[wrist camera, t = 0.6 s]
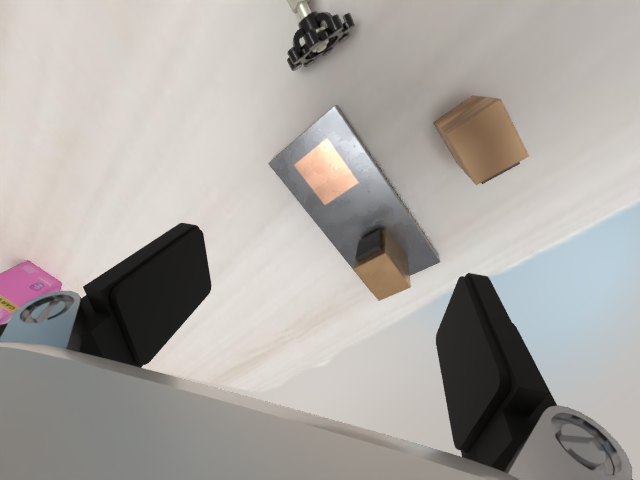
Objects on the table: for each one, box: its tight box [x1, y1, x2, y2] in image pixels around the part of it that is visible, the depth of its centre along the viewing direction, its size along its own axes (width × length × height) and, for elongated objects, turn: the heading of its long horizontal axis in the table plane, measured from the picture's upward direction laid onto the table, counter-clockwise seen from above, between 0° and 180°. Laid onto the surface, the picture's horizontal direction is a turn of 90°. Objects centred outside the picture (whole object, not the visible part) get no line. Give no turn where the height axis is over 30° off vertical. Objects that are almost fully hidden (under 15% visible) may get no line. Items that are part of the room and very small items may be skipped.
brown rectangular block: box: [434, 96, 529, 185], centre depth 25 cm, size 4×6×8 cm
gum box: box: [0, 261, 62, 325], centre depth 56 cm, size 24×8×14 cm, turn 141°
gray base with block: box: [268, 106, 440, 301], centre depth 32 cm, size 10×22×8 cm, turn 39°
